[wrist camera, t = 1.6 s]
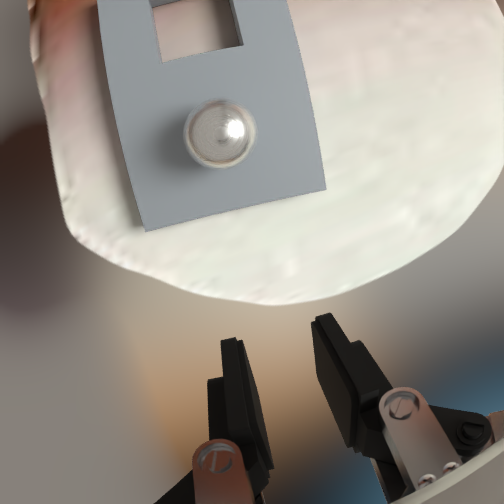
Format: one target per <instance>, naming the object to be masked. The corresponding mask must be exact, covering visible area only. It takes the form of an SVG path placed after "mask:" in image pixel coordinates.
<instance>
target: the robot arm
mask: <svg viewBox="0 0 504 504" xmlns="http://www.w3.org/2000/svg"><path fill="white" fill-rule="evenodd" d="M311 328H312V337H313V346H314V354H315V364H316V373H317V377H318V381H319V383H320V385H321V387H322V390H323V392H324V395H325V397H326V399H327V402H328V404H329V406H330V409H331V411H332V413H333V415H334V418H335V420H336V423H337V425H338V427H339V430H340V432H341V434H342V437H343V439H344V442H345V444H346V446H347V448H349V447H353V449H354V451H355V453H358V452H362V455H363V456H366V457H369V458H371V461H372V464H373V467H374V469H375V472H376V475H377V477H378V480H379V483H380V485H381V488H382V490H383V493H384V496H385V499H386V501H387V504H504V410H502V411H498V412H493V413H490V414H489V416H486V417H485V416H483V415H481V414H478V413H474V412H467V411H461V410H454V409H448V408H443V407H437V406H432V405H428V404H427V402H426V401H425V399H424V398H423V396H422V395H421V394H420V393H419V392H418V391H416V390H414V389H411V388H407V387H399V388H395V389H393V387H392V386H391V384H390V383H389V382H388V380H387V378H386V377H385V375H384V374H383V372H382V371H381V369H380V368H379V366H378V365H377V363H376V362H375V360H374V359H373V357H372V356H371V354H370V353H369V352H368V350H367V349H366V347H365V346H364V344H363V343H362V342H361V341H360V340H358V341H355V342H352V343H350V341H349V340H348V338H347V337H346V335H345V334H344V332H343V331H342V329H341V327H340V326H339V324H338V323H337V321H336V320H335V318H334V317H333V315H332V314H331V313H327V314H324V315H320V316H316V318H315V321H313V322H311ZM221 354H222V367H223V377H219V378H214V379H208V383H207V389H208V420H209V441H207V442H205V443H203V444H202V445H201V446H199V447H198V448H197V449H196V451H195V453H194V455H193V459H192V468H193V469H192V470H191V471H190V472H189V473H188V474H187V475H186V476H185V477H184V478H183V479H182V480H180V481H179V482H178V483H177V484H176V485H175V486H174V487H173V488H172V489H170V490H169V491H168V492H167V493H166V494H165V495H163V496H162V497H161V498H160V499H159V500H158V501H157V502H155V503H154V504H265V502H264V497H263V493H262V490H263V489H264V488H265V486H266V485H267V484H268V483H269V481H268V478H270V475H269V470H271V469H274V465H273V460H272V456H271V451H270V446H269V442H268V437H267V432H266V428H265V423H264V418H263V414H262V409H261V404H260V399H259V395H258V391H257V387H256V384H255V381H254V377H253V374H252V370H251V367H250V364H249V360H248V357H247V353H246V350H245V347H244V344H243V340H239V341H237V339H236V337H234V338H229V339H225V340H221Z"/></svg>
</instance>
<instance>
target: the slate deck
mask: <svg viewBox="0 0 504 504" xmlns="http://www.w3.org/2000/svg"><path fill="white" fill-rule="evenodd" d="M175 1H179V0H97V4H98V14H99V23H100V32H101V39H102V47H103V54H104V60H105V66H106V72H107V78H108V84H109V89H110V95H111V100H112V105H113V110H114V115H115V119H116V124H117V128H118V133H119V137H120V142H121V146H122V150H123V154H124V158H125V162H126V166H127V170H128V174H129V177H130V181H131V185H132V188H133V192H134V196H135V199H136V203H137V206H138V209H139V213H140V216H141V219H142V223H143V226H144V229H145V232H148V231H152V230H155V229H159V228H163V227H167V226H171V225H174V224H178V223H182V222H186V221H190V220H194V219H198V218H202V217H206V216H210V215H214V214H219V213H223V212H227V211H231V210H235V209H240V208H244V207H248V206H253V205H257V204H262V203H266V202H271V201H275V200H280V199H284V198H289V197H294V196H298V195H303V194H308V193H313V192H318V191H323V190H326V183H325V177H324V170H323V164H322V157H321V151H320V146H319V140H318V134H317V129H316V123H315V118H314V113H313V108H312V103H311V98H310V93H309V88H308V84H307V79H306V75H305V70H304V66H303V62H302V58H301V53H300V49H299V45H298V41H297V37H296V34H295V30H294V26H293V22H292V19H291V15H290V12H289V8H288V5H287V1H286V0H229V2H230V7H231V11H232V15H233V19H234V23H235V27H236V31H237V35H238V40H239V44H240V46H237V47H231V48H225V49H220V50H215V51H210V52H205V53H200V54H196V55H191V56H187V57H183V58H179V59H175V60H171V61H168V62H164V63H162V59H161V54H160V49H159V44H158V38H157V33H156V27H155V22H154V16H153V10H152V7H156V6H159V5H163V4H167V3H171V2H175ZM213 98H229V99H233V100H236V101H238V102H240V103H242V104H243V105H244V106H246V107H247V108H248V109H249V110H250V112H251V113H252V114H253V116H254V118H255V120H256V123H257V128H258V139H257V143H256V146H255V148H254V150H253V152H252V154H251V155H250V156H249V157H248V158H247V159H246V160H245V161H244V162H243V163H241V164H240V165H238V166H236V167H234V168H230V169H226V170H213V169H209V168H206V167H204V166H202V165H200V164H198V163H197V162H196V161H195V160H193V159H192V157H191V156H190V155H189V153H188V152H187V150H186V148H185V145H184V141H183V128H184V124H185V121H186V119H187V117H188V115H189V114H190V113H191V111H192V110H193V109H194V108H195V107H196V106H198V105H199V104H201V103H202V102H204V101H206V100H209V99H213Z"/></svg>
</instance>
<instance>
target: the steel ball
mask: <svg viewBox="0 0 504 504" xmlns="http://www.w3.org/2000/svg"><path fill="white" fill-rule="evenodd" d="M257 139H258V128H257V123H256V120H255V118H254V116H253V114H252V113H251V112H250V110H249V109H248V108H247V107H246V106H244V105H243V104H242V103H240V102H238V101H236V100H233V99H229V98H213V99H209V100H206V101H204V102H202V103H201V104H199V105H198V106H196V107H195V108H194V109H193V110H192V111H191V113H190V114H189V115H188V117H187V119H186V121H185V124H184V128H183V141H184V145H185V148H186V150H187V152H188V153H189V155H190V156H191V157H192V159H193V160H195V161H196V162H197V163H198V164H200V165H202V166H204V167H206V168H209V169H213V170H226V169H230V168H234V167H236V166H238V165H240V164H241V163H243V162H244V161H245V160H246V159H247V158H248V157H249V156H250V155H251V154H252V152H253V150H254V148H255V146H256V143H257Z"/></svg>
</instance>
